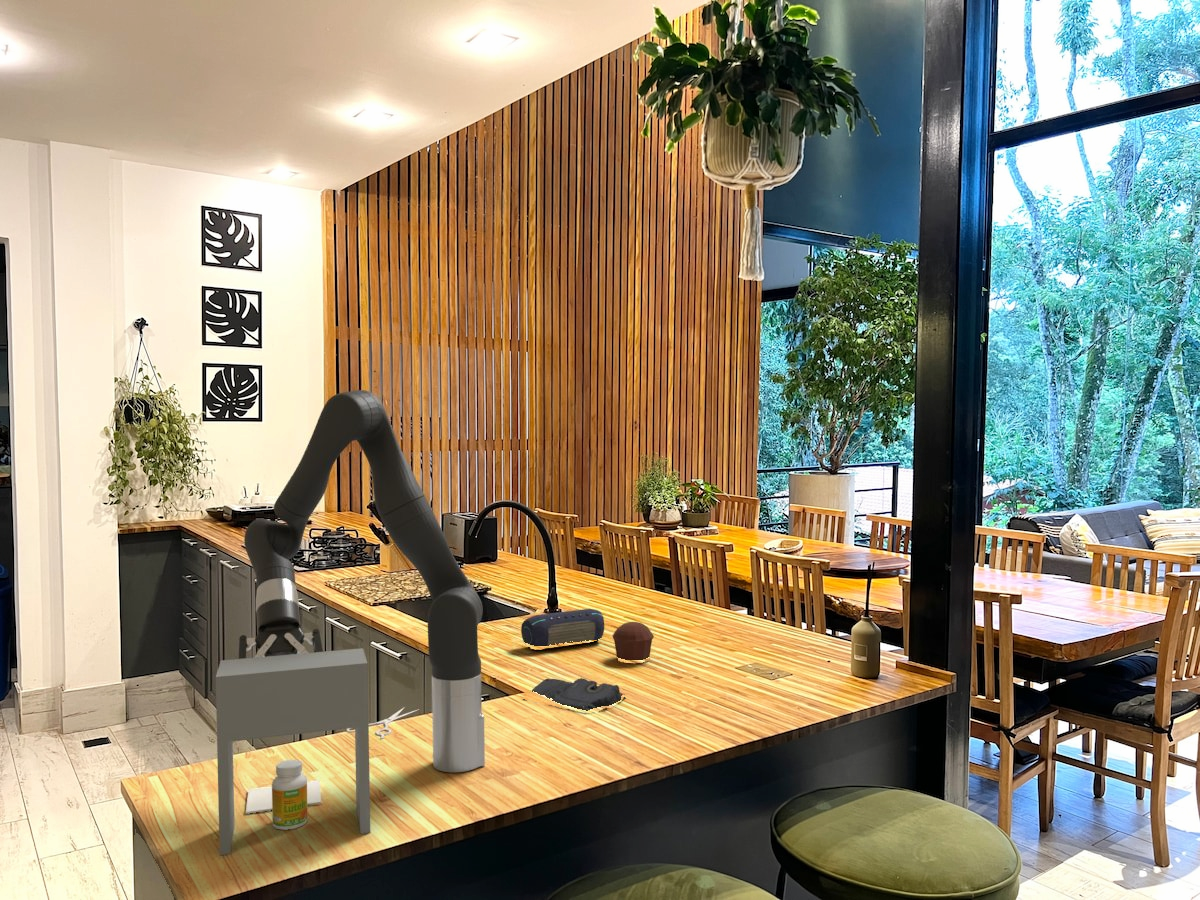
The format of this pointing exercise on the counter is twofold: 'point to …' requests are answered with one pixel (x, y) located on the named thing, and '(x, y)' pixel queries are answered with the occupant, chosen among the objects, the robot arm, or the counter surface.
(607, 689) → the crumpled dark grey cloth
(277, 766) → the supplement bottle
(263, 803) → the white flat rectangular board
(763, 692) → the counter surface
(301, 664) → the grey rectangular arch
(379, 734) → the scissors
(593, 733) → the counter surface
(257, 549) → the robot arm
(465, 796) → the counter surface
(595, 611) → the portable speaker
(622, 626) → the muffin
